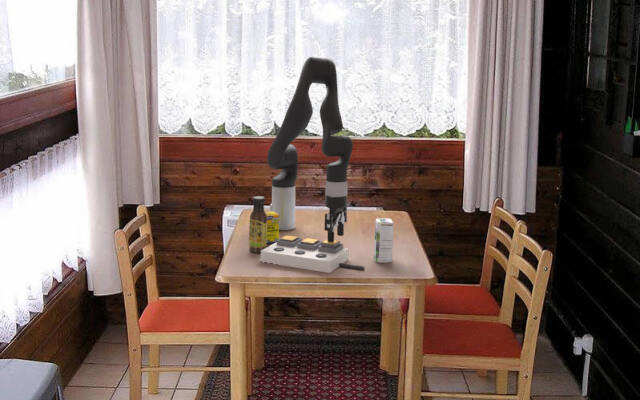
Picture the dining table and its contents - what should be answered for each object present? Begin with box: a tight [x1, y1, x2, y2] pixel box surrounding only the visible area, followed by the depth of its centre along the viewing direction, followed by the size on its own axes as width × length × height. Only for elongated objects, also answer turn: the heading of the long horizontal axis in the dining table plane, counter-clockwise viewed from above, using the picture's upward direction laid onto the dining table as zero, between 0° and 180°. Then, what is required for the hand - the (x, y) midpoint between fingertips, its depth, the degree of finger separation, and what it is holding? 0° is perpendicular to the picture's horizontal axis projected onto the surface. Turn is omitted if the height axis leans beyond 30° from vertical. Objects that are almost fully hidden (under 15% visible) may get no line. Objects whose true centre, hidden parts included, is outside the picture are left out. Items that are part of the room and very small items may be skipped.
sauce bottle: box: [248, 195, 268, 254], centre depth 284 cm, size 6×6×20 cm
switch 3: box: [322, 238, 341, 249], centre depth 274 cm, size 5×5×2 cm
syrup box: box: [373, 217, 395, 264], centre depth 276 cm, size 6×6×14 cm
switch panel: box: [260, 235, 366, 274], centre depth 273 cm, size 35×16×6 cm, turn 66°
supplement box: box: [265, 211, 280, 245], centre depth 296 cm, size 6×6×11 cm
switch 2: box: [301, 237, 320, 246], centre depth 278 cm, size 5×5×2 cm
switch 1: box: [279, 235, 299, 242], centre depth 281 cm, size 5×5×2 cm
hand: (335, 238), depth 278 cm, fingers open, 8 cm apart
